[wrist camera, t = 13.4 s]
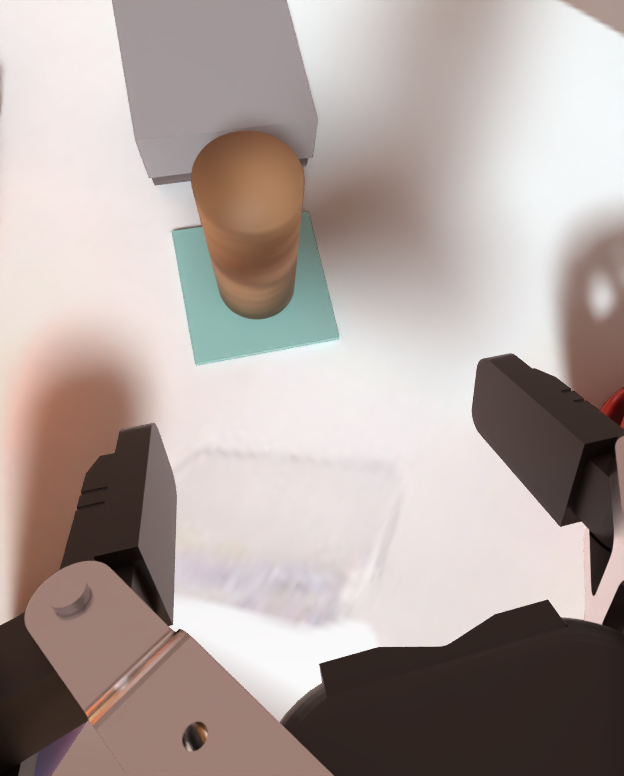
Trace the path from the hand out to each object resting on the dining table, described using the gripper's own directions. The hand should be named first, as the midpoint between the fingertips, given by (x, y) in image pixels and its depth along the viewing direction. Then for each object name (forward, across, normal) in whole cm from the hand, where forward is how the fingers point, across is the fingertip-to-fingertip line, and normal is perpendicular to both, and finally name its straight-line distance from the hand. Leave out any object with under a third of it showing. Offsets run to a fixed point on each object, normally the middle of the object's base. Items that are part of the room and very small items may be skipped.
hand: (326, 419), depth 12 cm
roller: (+20, 0, +3) cm, 20 cm away
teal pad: (+20, 0, +4) cm, 20 cm away
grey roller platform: (+28, 0, -5) cm, 28 cm away
